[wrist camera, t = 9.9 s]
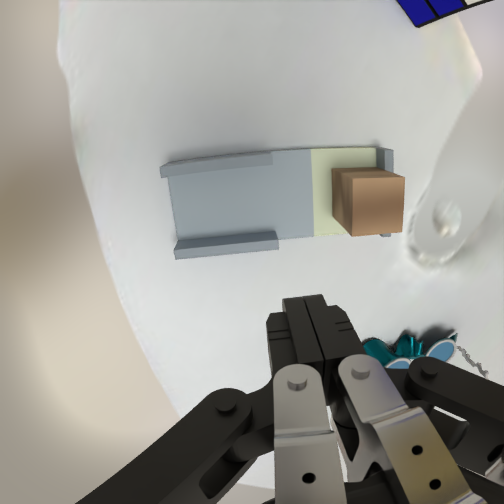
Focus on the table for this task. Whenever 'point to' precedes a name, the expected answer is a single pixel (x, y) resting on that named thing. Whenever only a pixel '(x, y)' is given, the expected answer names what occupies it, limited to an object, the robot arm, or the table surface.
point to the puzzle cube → (435, 9)
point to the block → (367, 200)
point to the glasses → (415, 352)
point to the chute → (259, 197)
